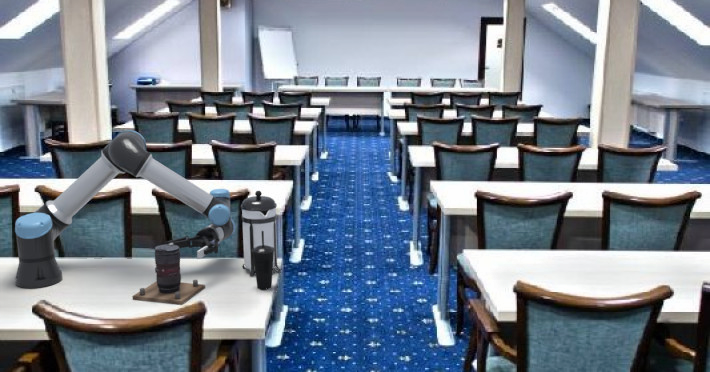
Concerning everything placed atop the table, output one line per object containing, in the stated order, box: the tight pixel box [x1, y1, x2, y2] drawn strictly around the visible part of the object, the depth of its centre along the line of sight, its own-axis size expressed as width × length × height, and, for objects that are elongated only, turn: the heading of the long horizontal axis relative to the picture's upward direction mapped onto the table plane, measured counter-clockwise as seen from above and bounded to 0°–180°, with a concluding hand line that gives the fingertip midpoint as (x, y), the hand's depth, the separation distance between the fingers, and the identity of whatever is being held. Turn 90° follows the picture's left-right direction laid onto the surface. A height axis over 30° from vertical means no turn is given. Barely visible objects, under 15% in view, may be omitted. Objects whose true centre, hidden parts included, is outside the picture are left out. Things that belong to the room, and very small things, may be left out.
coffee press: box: [240, 190, 281, 277], centre depth 264 cm, size 17×16×30 cm
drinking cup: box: [252, 231, 275, 291], centre depth 246 cm, size 8×8×20 cm
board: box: [132, 279, 206, 305], centre depth 243 cm, size 18×16×3 cm
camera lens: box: [154, 243, 182, 293], centre depth 241 cm, size 8×8×15 cm
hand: (180, 253), depth 248 cm, fingers open, 13 cm apart
